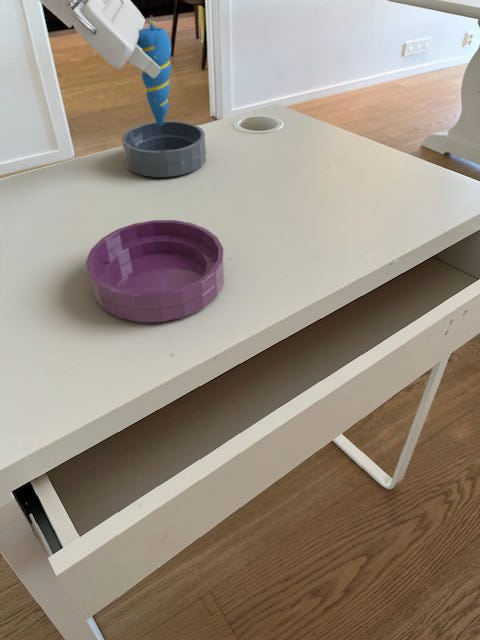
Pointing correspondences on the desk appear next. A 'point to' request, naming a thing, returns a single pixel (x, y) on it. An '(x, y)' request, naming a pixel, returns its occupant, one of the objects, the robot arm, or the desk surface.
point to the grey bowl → (164, 148)
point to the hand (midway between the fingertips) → (159, 67)
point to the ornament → (159, 49)
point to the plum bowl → (156, 270)
